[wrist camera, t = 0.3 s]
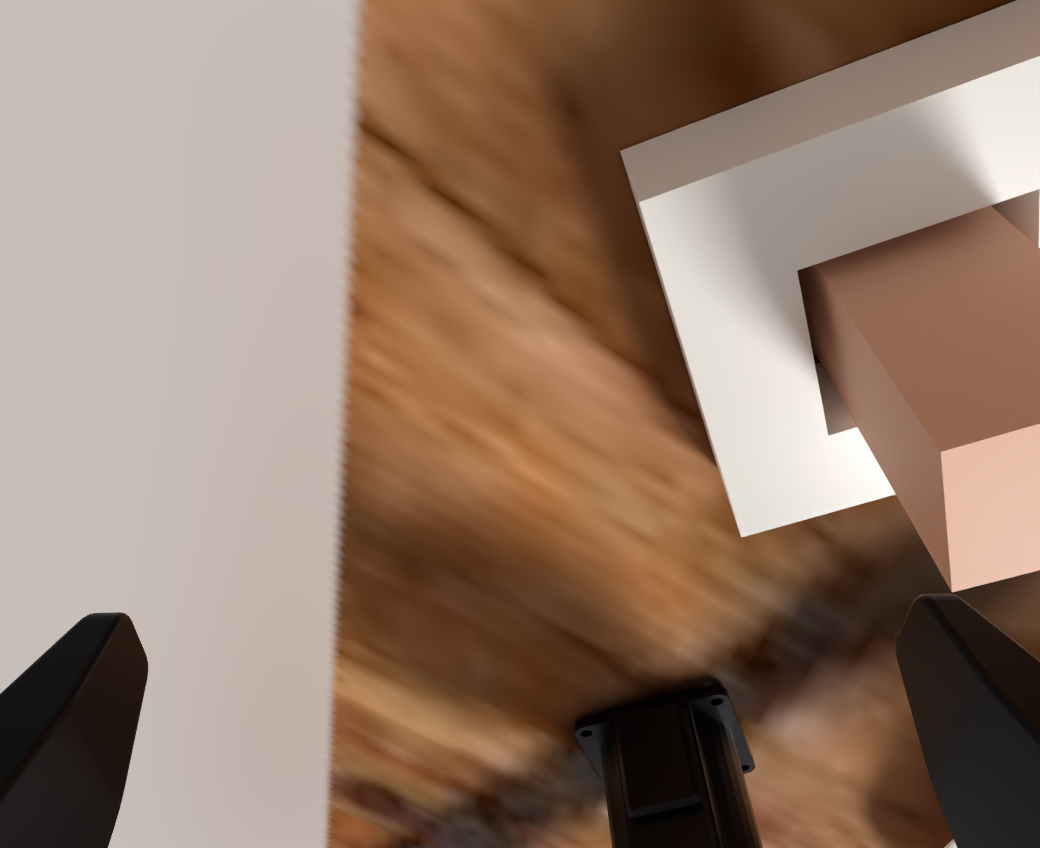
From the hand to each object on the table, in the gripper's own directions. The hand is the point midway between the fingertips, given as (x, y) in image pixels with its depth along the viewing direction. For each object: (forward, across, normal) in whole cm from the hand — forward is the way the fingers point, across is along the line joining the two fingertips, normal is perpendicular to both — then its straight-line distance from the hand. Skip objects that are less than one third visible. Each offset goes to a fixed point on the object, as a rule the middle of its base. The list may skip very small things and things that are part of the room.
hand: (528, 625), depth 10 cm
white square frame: (+14, -10, +2) cm, 17 cm away
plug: (+14, -10, +2) cm, 17 cm away
